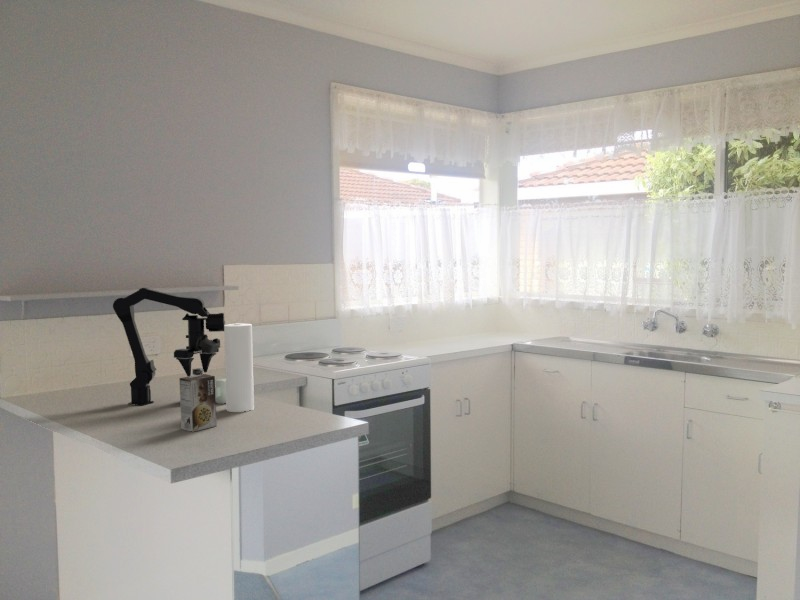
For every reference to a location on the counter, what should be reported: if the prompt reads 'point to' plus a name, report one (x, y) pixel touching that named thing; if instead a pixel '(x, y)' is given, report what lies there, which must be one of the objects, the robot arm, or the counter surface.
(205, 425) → the cookie box
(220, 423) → the counter surface
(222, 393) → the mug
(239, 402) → the paper towel roll
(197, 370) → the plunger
